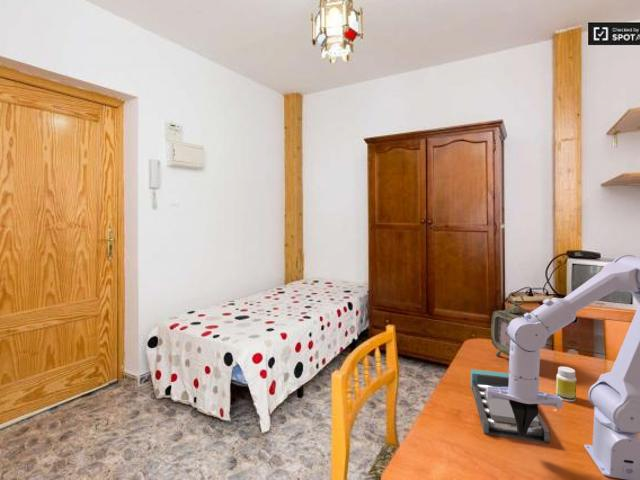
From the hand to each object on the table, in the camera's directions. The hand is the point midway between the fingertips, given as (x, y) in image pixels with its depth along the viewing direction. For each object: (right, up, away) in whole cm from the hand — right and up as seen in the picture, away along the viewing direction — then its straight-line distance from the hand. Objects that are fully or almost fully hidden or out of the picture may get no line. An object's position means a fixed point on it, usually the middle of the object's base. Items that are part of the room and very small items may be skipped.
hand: (521, 433), depth 78 cm
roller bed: (+5, -3, +16) cm, 17 cm away
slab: (+4, -1, +12) cm, 12 cm away
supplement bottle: (+26, -3, +23) cm, 35 cm away
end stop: (+8, -2, +28) cm, 29 cm away
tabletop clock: (+25, -1, +47) cm, 53 cm away
